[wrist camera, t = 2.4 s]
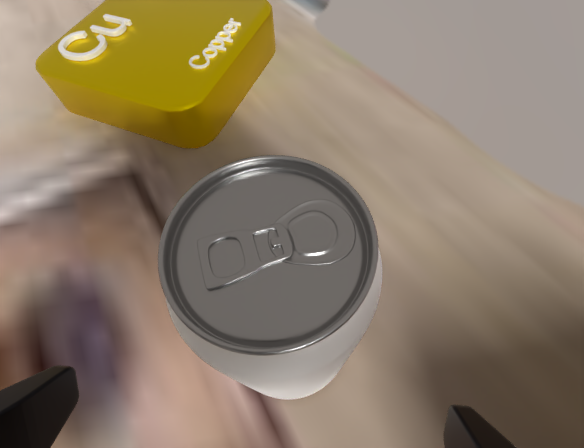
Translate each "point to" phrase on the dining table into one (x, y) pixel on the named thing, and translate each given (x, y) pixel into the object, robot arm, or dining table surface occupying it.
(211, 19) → the element tile
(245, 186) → the can
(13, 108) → the dining table surface
